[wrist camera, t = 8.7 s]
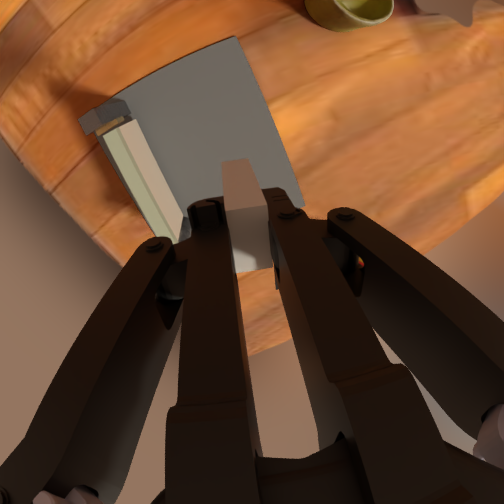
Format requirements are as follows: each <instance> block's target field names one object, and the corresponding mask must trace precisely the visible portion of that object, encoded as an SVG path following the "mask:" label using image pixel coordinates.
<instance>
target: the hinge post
mask: <svg viewBox="0 0 504 504" xmlns="http://www.w3.org/2000/svg"><path fill="white" fill-rule="evenodd" d="M190 233H191V226H190V221H189V218H187V217H183V219H182V224H181V229H180V234H179V239H178V242H181V241H184V240H186V239H188V238H189V237H190Z"/></svg>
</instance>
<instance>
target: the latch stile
mask: <svg viewBox="0 0 504 504" xmlns="http://www.w3.org/2000/svg"><path fill="white" fill-rule="evenodd" d="M129 114H131V111H130V109H129V107H128V105H127V103H126V101H121V102H116V103H112V104H108V105H104V106H100V107H96V108H93V109H91V110H90V111H89V112H87V113H86V114H84V115H83V116H82V117H80V118H79V119H78V121H79V123H80V125H81V127H82V129H83V130H84V132H85V134H86V136H87V135H89V134H91V133H93V132H95V131H96V134H97V135H98V136H100V135H102V134H103V133H105V132H107V131H108V130H110V129H112V128H113V127H115V126H116V125H118V124H119V123H121V122H123V121H124V120H125V119H124V117H126V116H128V115H129ZM97 130H98V131H97Z"/></svg>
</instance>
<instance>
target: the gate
mask: <svg viewBox="0 0 504 504" xmlns="http://www.w3.org/2000/svg"><path fill="white" fill-rule="evenodd" d="M103 138H104V140H105V142H106V144H107V146H108V148H109V150H110V152H111V154H112V156H113V158H114V160H115V162H116V163H117V165H118V167H119V169H120V171H121V173H122V175H123V177H124V179H125V181H126V183H127V184H128V186H129V188H130V190H131V192H132V194H133V196H134V197H135V199H136V201H137V203H138V205H139V206H140V208H141V210H142V212H143V214H144V215H145V217H146V219H147V221H148V222H149V224H150V226H151V227H152V229H153V231H154V233H155V234H156V236H157V237H160V236H164V237H168V238H171V240H172V242H173V244H176V243H179V242H178V239H179V234H180V229H181V224H182V219H183V214H182V212H181V210H180V208H179V206H178V204H177V202H176V200H175V198H174V196H173V194H172V192H171V190H170V188H169V186H168V184H167V182H166V180H165V178H164V176H163V174H162V172H161V170H160V168H159V166H158V164H157V162H156V160H155V158H154V156H153V154H152V152H151V150H150V148H149V146H148V144H147V141H146V139H145V137H144V135H143V133H142V131H141V129H140V127H139V124H138V122H137V120H136V119H135V120H132V121H130V122H128V123H126V124H124V125H122V126H120V127H118V128H116V129H114V130H112V131H111V132H109V133H107V134H105V135H104V136H103Z"/></svg>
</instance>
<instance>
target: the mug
mask: <svg viewBox="0 0 504 504" xmlns="http://www.w3.org/2000/svg"><path fill="white" fill-rule="evenodd" d="M304 3H305V7H306V10H307V11H308V13H309V15H310V16H311V17H312V19H314V20H315V21H316V22H317V23H318V24H319V25H321V26H322V27H324V28H326V29H328V30H331V31H336V32H349V31H353V30H356V29H358V28H363V27H369V26H374V25H377V24H380V23H382V22H384V21H385V20H387V19H388V18H389V17H390V15H391V14H392V11H393V8H394V1H393V0H304Z"/></svg>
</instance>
